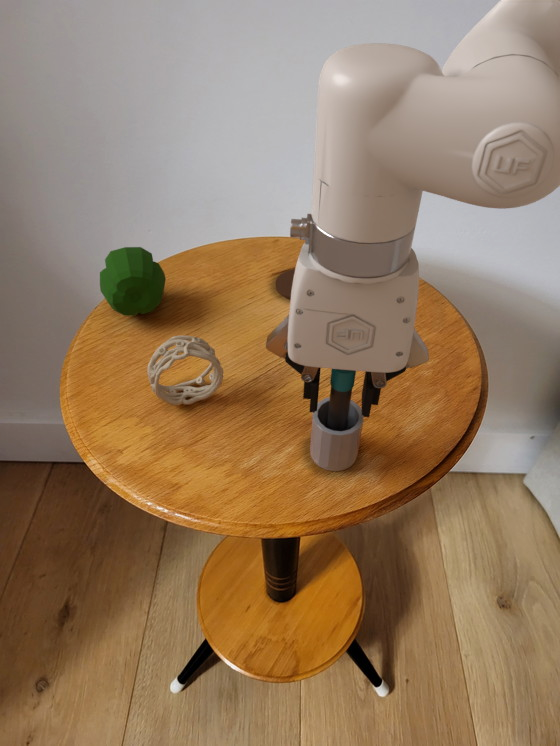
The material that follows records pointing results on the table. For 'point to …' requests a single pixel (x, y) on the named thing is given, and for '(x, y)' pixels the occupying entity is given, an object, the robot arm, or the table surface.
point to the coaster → (285, 283)
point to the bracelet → (190, 349)
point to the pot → (335, 438)
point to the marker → (340, 398)
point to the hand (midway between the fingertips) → (339, 402)
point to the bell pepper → (132, 281)
